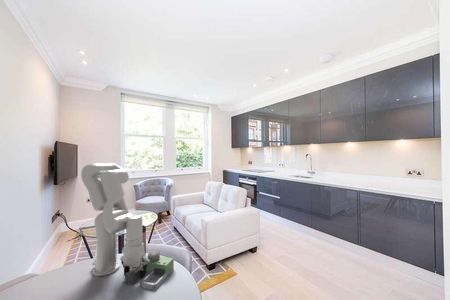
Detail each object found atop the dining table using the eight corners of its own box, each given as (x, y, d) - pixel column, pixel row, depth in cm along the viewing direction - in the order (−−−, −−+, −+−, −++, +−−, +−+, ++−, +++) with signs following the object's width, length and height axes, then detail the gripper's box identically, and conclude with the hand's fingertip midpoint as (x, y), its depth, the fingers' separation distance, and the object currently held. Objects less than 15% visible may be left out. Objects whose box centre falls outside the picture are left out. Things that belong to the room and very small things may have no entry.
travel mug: (140, 266, 106) (140, 230, 107) (128, 265, 107) (128, 229, 108) (148, 259, 113) (148, 225, 114) (137, 258, 115) (137, 225, 116)
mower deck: (126, 283, 91) (126, 265, 91) (148, 265, 107) (148, 249, 107) (155, 289, 87) (155, 269, 87) (173, 269, 102) (173, 252, 103)
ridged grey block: (124, 283, 92) (124, 272, 92) (135, 274, 98) (135, 265, 99) (132, 285, 90) (132, 274, 91) (142, 276, 97) (142, 266, 97)
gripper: (114, 242, 94) (114, 278, 93) (143, 246, 89) (144, 283, 88) (126, 236, 101) (126, 269, 100) (153, 239, 96) (154, 273, 95)
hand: (134, 275), depth 94 cm, fingers open, 9 cm apart
